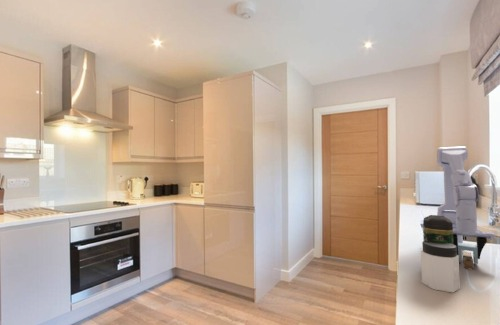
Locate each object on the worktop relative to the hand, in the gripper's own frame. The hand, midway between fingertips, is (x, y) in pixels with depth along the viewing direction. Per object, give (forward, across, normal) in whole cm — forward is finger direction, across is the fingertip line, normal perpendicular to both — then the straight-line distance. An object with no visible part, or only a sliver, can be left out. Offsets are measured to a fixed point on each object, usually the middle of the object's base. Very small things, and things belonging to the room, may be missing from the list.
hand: (467, 256), depth 93 cm
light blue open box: (+1, 0, 0) cm, 1 cm away
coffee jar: (+3, -8, -18) cm, 19 cm away
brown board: (+2, 0, 0) cm, 2 cm away
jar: (+3, -8, -28) cm, 30 cm away
